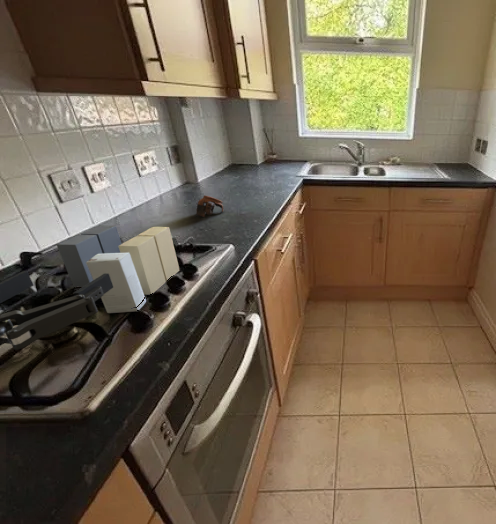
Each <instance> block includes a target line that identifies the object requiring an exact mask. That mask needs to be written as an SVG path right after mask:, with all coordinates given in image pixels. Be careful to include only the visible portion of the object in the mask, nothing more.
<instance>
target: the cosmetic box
mask: <svg viewBox="0 0 496 524" xmlns="http://www.w3.org/2000/svg"><path fill="white" fill-rule="evenodd" d="M86 264H87V266H88V268H89V271H90V273H91V275H92V278H93V280H95V279H96V278H98V277H99V276H101V275H103V274H104V273H109V276H110V279H111V281H112V284H113V288H112V289H111V290H109V291H108V292H106V293H105V294H104V295H103V296H102V297H100V299H101V301H102V303H103V306H104V309H105V311H106V313H107V314H116V313H132V312H138V311H137V310H139V311H140V310H141V309H142V308H143V307H144V305H145V304H146V303H147V299H146V295H144V293H143V290H142V288H141V285H140V282H139V279H138V276H137V273H136V270H135V267H134V265H133V262H132V259H131V256H130V253H107V254H97V255H95V256H94V257H93V258H91V259H90V260H89V261H87V262H86ZM144 297H145V299H144ZM143 299H144V301H143V302H142V300H143ZM141 302H142V303H141ZM140 303H141V304H140ZM139 304H140V305H139ZM138 305H139V306H138ZM137 306H138V307H137ZM133 307H137V308H133ZM131 308H133V309H131Z"/></svg>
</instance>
